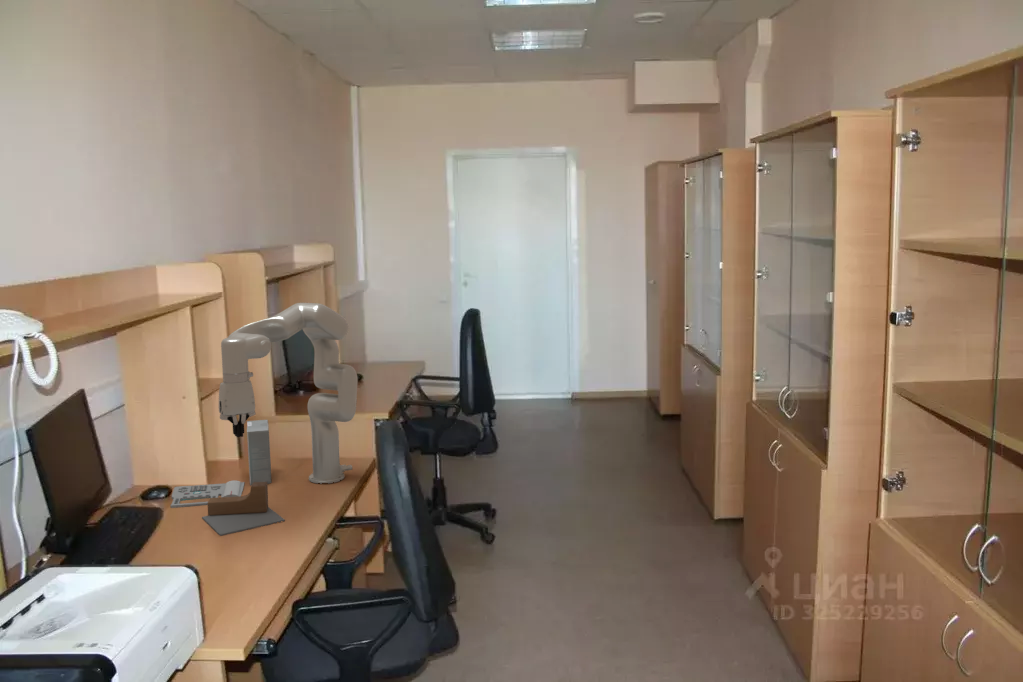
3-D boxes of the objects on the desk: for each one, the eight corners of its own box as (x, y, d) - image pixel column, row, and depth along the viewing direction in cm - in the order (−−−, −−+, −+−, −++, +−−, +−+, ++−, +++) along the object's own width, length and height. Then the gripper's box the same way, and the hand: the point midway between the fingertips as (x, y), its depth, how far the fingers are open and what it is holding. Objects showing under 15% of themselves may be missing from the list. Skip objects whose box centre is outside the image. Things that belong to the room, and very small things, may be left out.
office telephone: (244, 478, 291) (241, 496, 272) (244, 485, 291) (242, 503, 272) (174, 482, 284) (166, 501, 265) (174, 490, 285) (167, 509, 266)
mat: (264, 505, 269) (264, 503, 269) (284, 521, 255) (284, 519, 255) (202, 518, 257) (201, 516, 257) (220, 536, 243) (220, 534, 243)
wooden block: (267, 481, 263) (209, 484, 261) (265, 485, 259) (206, 488, 256) (268, 507, 265) (210, 510, 262) (266, 512, 260) (207, 515, 258)
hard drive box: (249, 472, 302) (247, 420, 299) (271, 471, 305) (268, 419, 302) (249, 486, 288) (246, 431, 285) (272, 483, 290) (269, 429, 287)
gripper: (255, 373, 256) (258, 429, 259) (207, 378, 247) (210, 437, 250) (264, 376, 250) (266, 434, 253) (214, 382, 241) (218, 442, 244)
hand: (238, 436), depth 252 cm, fingers closed
